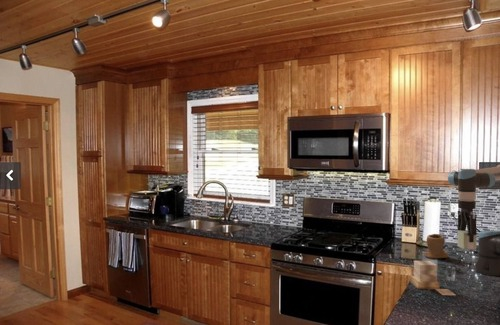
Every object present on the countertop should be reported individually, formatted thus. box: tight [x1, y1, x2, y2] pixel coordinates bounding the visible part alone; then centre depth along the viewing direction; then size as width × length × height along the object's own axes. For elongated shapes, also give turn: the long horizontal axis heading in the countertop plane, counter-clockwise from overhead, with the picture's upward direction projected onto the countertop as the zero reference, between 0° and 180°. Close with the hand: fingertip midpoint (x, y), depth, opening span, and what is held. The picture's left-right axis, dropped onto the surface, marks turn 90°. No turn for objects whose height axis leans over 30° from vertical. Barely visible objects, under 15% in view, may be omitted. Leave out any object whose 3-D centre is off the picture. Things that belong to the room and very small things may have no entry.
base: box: [409, 275, 441, 290], centre depth 190 cm, size 11×11×3 cm
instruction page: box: [434, 288, 456, 296], centre depth 180 cm, size 6×8×1 cm
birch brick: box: [413, 260, 438, 282], centre depth 190 cm, size 8×8×8 cm
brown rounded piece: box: [422, 233, 450, 259], centre depth 244 cm, size 15×12×15 cm
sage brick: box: [457, 230, 477, 250], centre depth 189 cm, size 6×6×8 cm
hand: (466, 247), depth 189 cm, fingers closed on sage brick, 6 cm apart
